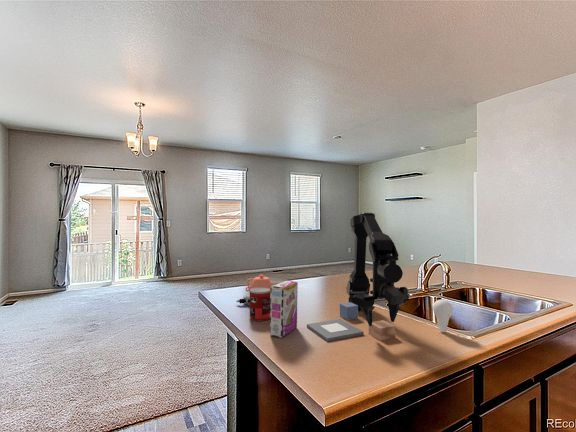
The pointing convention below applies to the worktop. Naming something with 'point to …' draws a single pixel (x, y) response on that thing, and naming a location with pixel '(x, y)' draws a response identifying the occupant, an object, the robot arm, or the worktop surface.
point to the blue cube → (348, 311)
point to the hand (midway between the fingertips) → (381, 323)
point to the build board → (334, 330)
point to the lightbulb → (442, 313)
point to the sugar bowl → (260, 283)
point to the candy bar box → (283, 308)
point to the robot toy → (247, 300)
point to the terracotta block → (382, 330)
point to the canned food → (259, 304)
